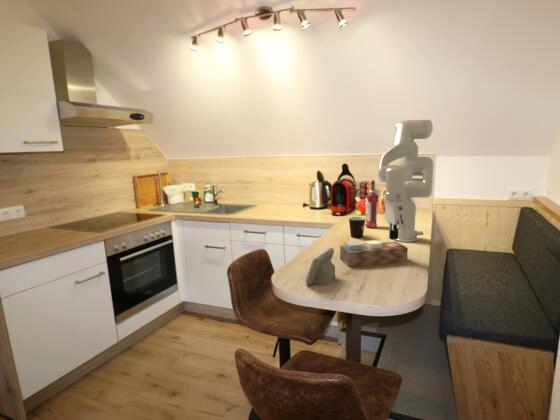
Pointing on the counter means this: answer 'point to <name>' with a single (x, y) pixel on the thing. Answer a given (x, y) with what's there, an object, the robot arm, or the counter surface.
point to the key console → (373, 255)
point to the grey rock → (321, 268)
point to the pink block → (392, 245)
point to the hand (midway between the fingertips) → (393, 238)
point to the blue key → (353, 246)
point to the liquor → (371, 207)
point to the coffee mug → (356, 226)
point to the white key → (373, 244)
